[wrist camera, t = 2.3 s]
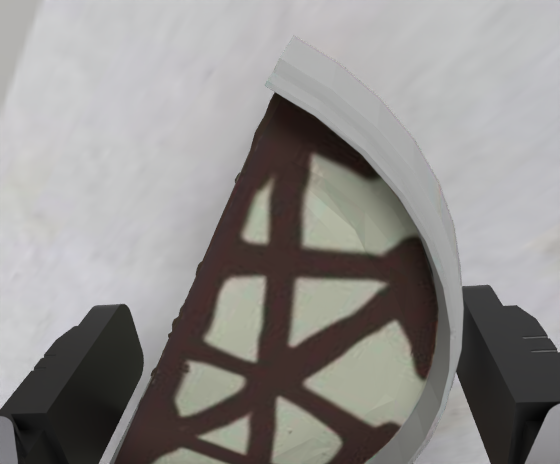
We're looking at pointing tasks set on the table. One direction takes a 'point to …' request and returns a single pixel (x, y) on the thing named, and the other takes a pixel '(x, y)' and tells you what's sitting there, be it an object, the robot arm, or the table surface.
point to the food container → (313, 295)
